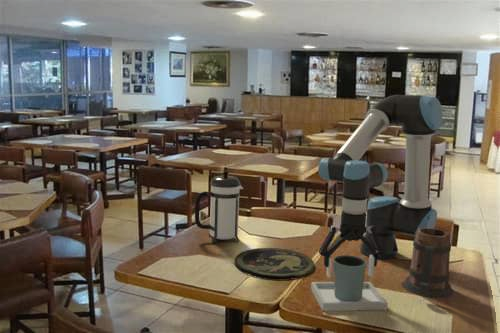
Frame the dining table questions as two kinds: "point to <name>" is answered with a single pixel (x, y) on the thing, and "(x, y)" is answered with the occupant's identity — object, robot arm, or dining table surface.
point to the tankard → (430, 264)
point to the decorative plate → (274, 263)
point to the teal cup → (349, 277)
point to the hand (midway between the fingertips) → (349, 276)
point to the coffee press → (222, 207)
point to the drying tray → (331, 303)
